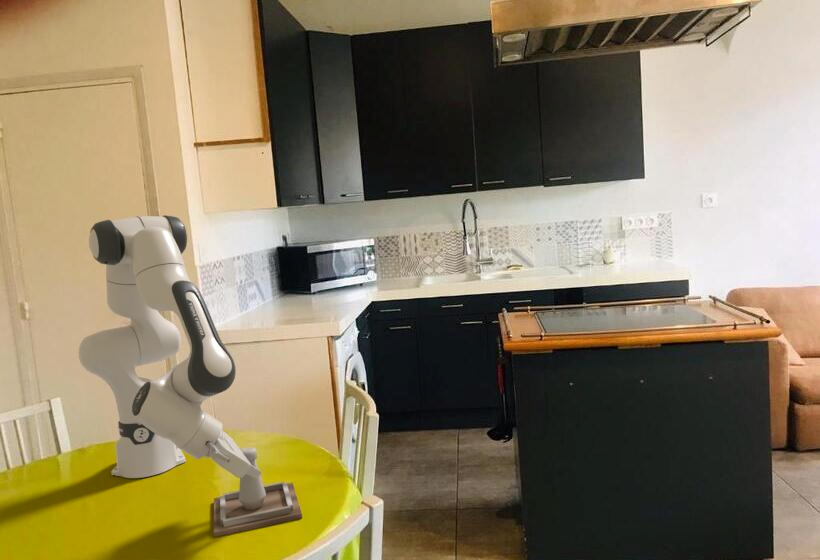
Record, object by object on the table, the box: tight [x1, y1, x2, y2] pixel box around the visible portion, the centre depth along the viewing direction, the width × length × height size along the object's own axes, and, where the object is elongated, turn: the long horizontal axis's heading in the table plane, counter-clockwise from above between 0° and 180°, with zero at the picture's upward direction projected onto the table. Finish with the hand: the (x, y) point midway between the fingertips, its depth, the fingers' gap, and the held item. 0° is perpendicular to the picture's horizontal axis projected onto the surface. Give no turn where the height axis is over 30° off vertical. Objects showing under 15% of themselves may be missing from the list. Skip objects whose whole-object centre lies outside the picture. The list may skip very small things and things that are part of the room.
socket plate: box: [213, 481, 303, 538], centre depth 149 cm, size 18×18×2 cm
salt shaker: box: [238, 446, 266, 510], centre depth 148 cm, size 6×6×13 cm
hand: (254, 469), depth 148 cm, fingers open, 6 cm apart
